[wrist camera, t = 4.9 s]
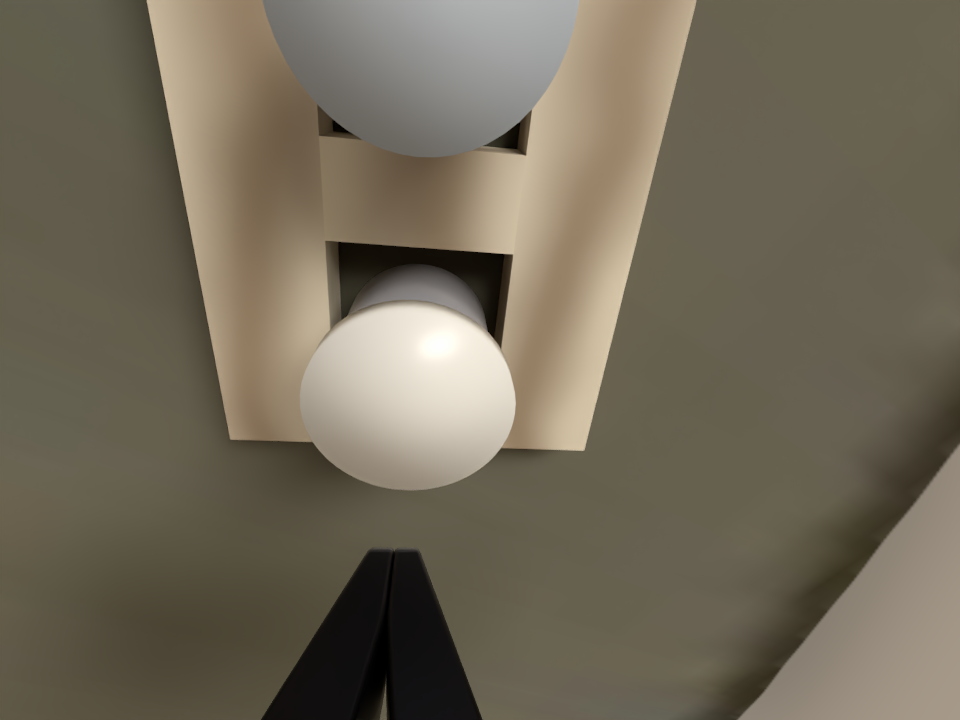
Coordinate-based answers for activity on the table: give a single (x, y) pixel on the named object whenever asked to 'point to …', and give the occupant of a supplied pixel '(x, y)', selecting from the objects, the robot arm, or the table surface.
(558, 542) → the table surface
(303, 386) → the button ivory
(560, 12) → the button grey
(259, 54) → the button board
